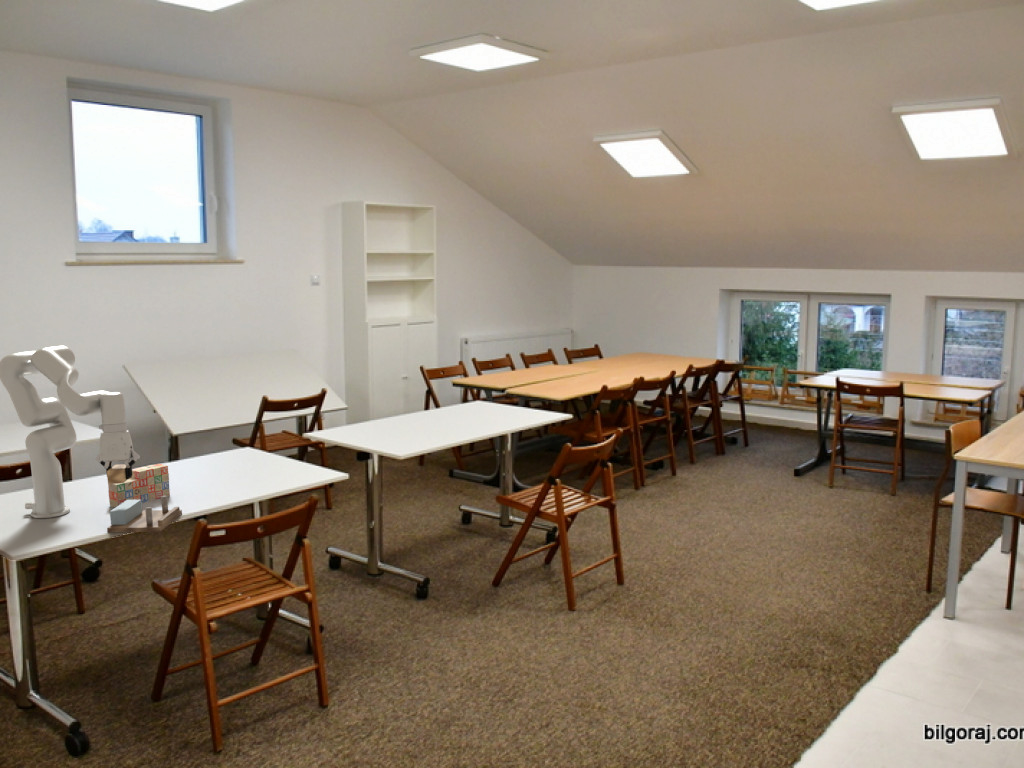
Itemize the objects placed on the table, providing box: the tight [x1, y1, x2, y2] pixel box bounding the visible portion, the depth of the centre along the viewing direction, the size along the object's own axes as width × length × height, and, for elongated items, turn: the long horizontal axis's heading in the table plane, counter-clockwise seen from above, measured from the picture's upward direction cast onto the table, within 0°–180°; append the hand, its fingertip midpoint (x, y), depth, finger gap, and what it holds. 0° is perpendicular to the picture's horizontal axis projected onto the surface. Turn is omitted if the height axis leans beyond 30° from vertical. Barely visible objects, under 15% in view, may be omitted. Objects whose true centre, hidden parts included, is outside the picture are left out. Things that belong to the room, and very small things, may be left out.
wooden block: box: [106, 463, 128, 485], centre depth 300 cm, size 5×10×4 cm, turn 9°
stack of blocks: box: [107, 463, 171, 508], centre depth 329 cm, size 21×6×12 cm, turn 144°
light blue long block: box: [109, 500, 143, 526], centre depth 302 cm, size 5×14×5 cm, turn 1°
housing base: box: [106, 496, 183, 533], centre depth 302 cm, size 18×20×8 cm
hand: (119, 478), depth 300 cm, fingers closed on wooden block, 5 cm apart
